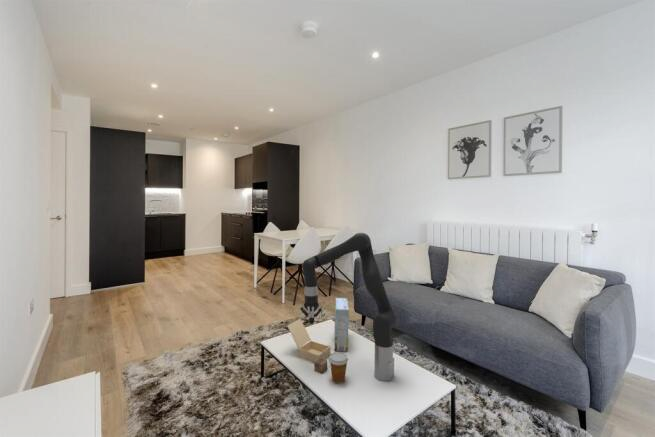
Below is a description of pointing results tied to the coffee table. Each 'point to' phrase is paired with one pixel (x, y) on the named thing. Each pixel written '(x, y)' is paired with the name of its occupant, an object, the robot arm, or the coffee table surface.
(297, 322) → the mailer lid
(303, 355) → the base
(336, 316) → the snack box
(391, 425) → the coffee table surface
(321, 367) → the walnut block
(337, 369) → the disposable coffee cup
